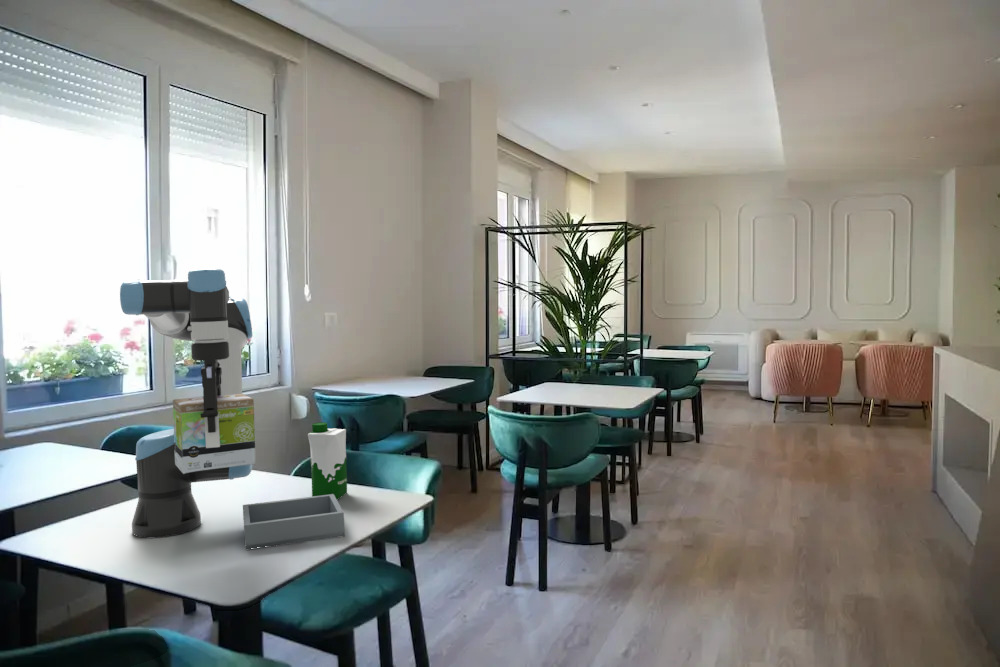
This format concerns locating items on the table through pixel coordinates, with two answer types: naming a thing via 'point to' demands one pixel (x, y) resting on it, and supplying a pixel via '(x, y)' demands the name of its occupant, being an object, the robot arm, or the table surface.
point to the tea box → (232, 431)
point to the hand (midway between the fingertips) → (215, 441)
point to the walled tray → (292, 521)
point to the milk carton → (328, 460)
